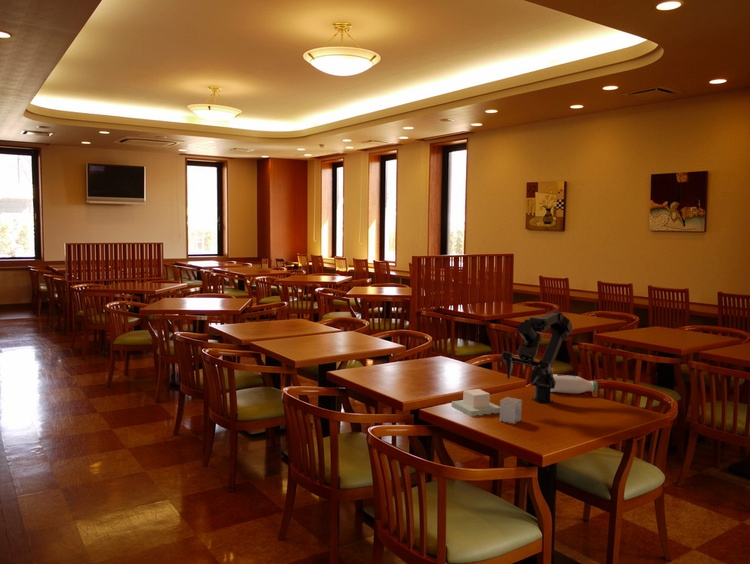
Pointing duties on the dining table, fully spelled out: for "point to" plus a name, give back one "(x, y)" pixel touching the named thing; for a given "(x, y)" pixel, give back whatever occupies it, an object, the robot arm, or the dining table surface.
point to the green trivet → (475, 411)
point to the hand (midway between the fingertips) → (519, 381)
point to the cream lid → (476, 398)
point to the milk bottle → (573, 384)
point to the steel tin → (510, 410)
